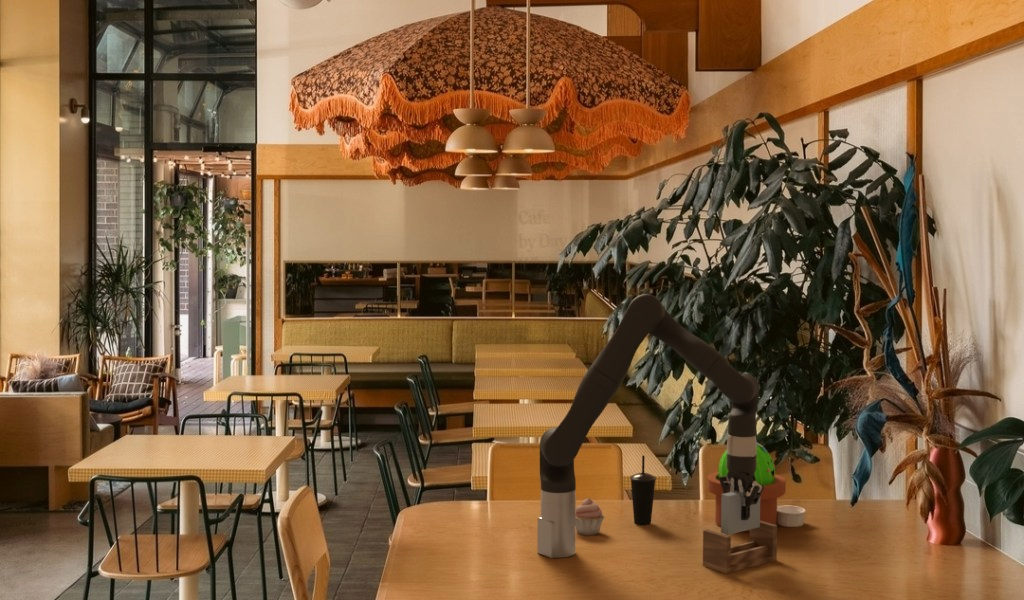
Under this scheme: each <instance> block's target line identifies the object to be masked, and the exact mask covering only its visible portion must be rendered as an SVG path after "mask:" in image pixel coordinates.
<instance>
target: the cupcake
mask: <svg viewBox="0 0 1024 600" xmlns="http://www.w3.org/2000/svg"><path fill="white" fill-rule="evenodd" d="M605 517H606V516H604V514H603V511H602V509H601V508H600V506H599V504H598V503H596V502H595V501H594V500H592V499H591V498H590V497H589V498H586V499H584V500H583V501H582V502H581V504H579V505H578V506H576V507H575V531H576V533H577V534H580V535H582V536H595V535H597V534H599V533H600V530H601V526H602V523H603V521H604V519H605Z"/></svg>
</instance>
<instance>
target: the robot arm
mask: <svg viewBox="0 0 1024 600" xmlns="http://www.w3.org/2000/svg"><path fill="white" fill-rule="evenodd" d="M648 335H651V336H653V337H654V338H656V339H658V340H660V341H661V342H663V343H664V344H665V345H667V346H668V347H670V349H672V350H674V352H675V353H677V354H678V355H679V356H680V357H681V358H682V359H683V360H684V361H686V363H688V364H689V365H690V366H691V367H693V368H694V370H696V371H698V373H700V374H701V375H702V376H703V377H705V378H707V379H708V380H710V382H712V383H713V384H714V386H715V387H716V388H717V389H718V390H719V391H720V393H722V394H723V395H724V396H725V398H727V399H729V400H730V401H731V409H730V410H731V411H730V413H729V415H728V420H727V421H728V424H727V440H726V450H727V470H728V473H727V476H723V477H720V478H719V480H720V483H721V486H722V489H723V492H724V494H725V493H728V491H729V493H730V492H735V491H739V492H740V497H741V500H742V506H741V519H742V520H748V519H749V517H750V506H751V505H753V504H757V502H758V500H759V497H760V495H761V493H762V491H763V489H764V486H763V485H759V484H758V483H757V482H756V478H755V475H754V474H755V471H756V464H757V442H758V441H757V411H758V410H757V409H758V404H759V396H760V395H759V394H760V393H759V392H760V390H759V389H760V387H759V386H760V385H759V383H758V380H757V379H756V378H755V377H754V376H753V375H752V374H750V373H740V372H739V371H738V370H737V369H735V368H734V367H732V365H730V361H729V360H728V359H727V358H726V357H725V356H724V355H722V354H721V353H720V352H718V351H717V349H715V348H714V347H713V346H711V345H710V344H709V343H707V342H705V341H704V340H703V339H701V338H699V337H698V336H696V335H695V334H693V333H692V332H690V331H689V330H687V329H686V328H685V327H683V326H682V325H681V324H680V323H679V322H678V321H677V320H675V318H673V317H672V315H671V314H670V313H669V312H668V311H667V309H665V307H664V305H663V304H662V302H661V301H660V300H659V298H657V297H656V296H655V295H652V294H649V293H648V294H647V293H644V294H643V293H642V294H640V295H637V296H636V297H635V298H633V299H632V300H631V302H630V303H629V305H628V307H627V309H626V310H625V313H624V315H623V317H622V318H621V321H620V323H619V324H618V326H617V328H616V330H615V332H614V334H613V335H612V336H611V337H610V338H609V340H608V342H607V343H606V344H605V345H604V347H603V348H602V349H601V351H600V352H599V354H597V356H596V358H595V359H594V361H593V362H592V364H591V365H590V367H589V368H588V369H587V371H586V373H585V375H584V376H583V377H582V380H581V382H580V383H579V385H578V387H577V390H576V392H575V395H574V397H573V399H572V400H573V401H572V403H571V405H570V407H569V409H568V411H567V413H566V415H565V416H564V418H563V419H562V420H561V422H560V424H559V425H557V426H554V427H551V428H548V429H547V430H546V431H545V432H544V433H543V434H542V435H541V438H540V440H539V479H540V516H539V517H538V518H537V548H536V549H537V554H540V555H543V556H545V557H548V558H549V559H555V558H568V557H572V556H573V555H575V554H576V526H575V513H576V507H577V506H576V501H577V500H576V499H577V497H576V496H577V495H576V493H577V492H576V490H577V489H576V486H577V481H576V474H575V459H576V457H577V455H578V453H579V452H580V449H581V447H582V445H583V443H584V441H585V439H586V437H587V435H588V434H589V431H590V430H591V428H592V427H593V425H594V424H595V422H596V421H597V420H598V419H599V417H600V416H601V415H602V413H603V412H604V410H605V409H606V407H607V405H609V403H610V402H611V400H612V399H613V397H614V396H615V394H616V393H617V391H618V389H619V388H620V387H621V385H622V384H623V382H624V380H625V378H626V375H627V374H628V371H629V369H630V367H631V364H632V361H633V359H634V356H635V355H636V352H637V350H638V349H639V347H640V346H641V344H642V343H643V341H644V340H645V339H646V338H647V336H648ZM752 487H753V488H752ZM744 492H747V493H744ZM746 497H747V501H746Z"/></svg>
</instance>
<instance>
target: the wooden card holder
mask: <svg viewBox="0 0 1024 600" xmlns="http://www.w3.org/2000/svg"><path fill="white" fill-rule="evenodd" d="M702 532H703V533H702V566H703V567H706V568H709V569H712V570H713V571H717V572H720V573H724V574H731V573H733V572H738V571H741V570H745V569H748V568H752V567H756V566H759V565H763V564H767V563H771V562H774V561H777V557H778V556H777V555H778V553H777V552H778V551H777V550H778V524H776V525H774V524H771V523H768V522H764V521H761V520H760V527H758V528H754V529H750V532H749V536H748V537H749V541H747V542H744V543H740V544H736V545H732V544H731V543H732V541H731V539H732V536H730V535H727V534H724V533H721V532H717V531H716V530H715V531H714V530H711V529H704V530H702ZM731 545H732V546H731Z"/></svg>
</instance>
